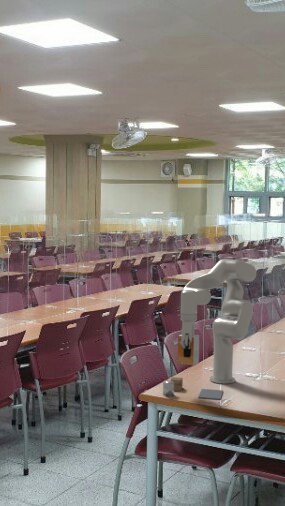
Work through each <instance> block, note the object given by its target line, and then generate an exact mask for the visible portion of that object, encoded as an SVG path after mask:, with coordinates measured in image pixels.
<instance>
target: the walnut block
mask: <svg viewBox="0 0 285 506" xmlns="http://www.w3.org/2000/svg"><path fill="white" fill-rule="evenodd" d="M183 380H184V379H183V377H178V376H171V378H170V381H174V391H182V389H183V383H184V382H183Z"/></svg>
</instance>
